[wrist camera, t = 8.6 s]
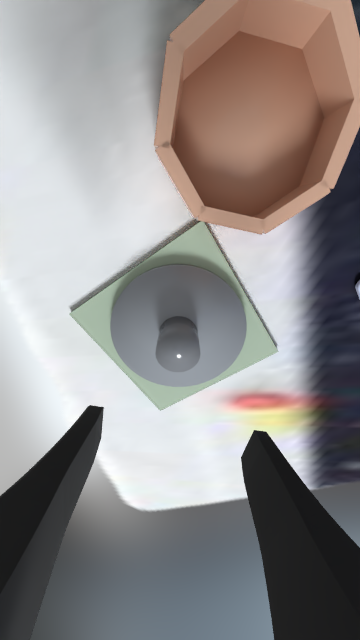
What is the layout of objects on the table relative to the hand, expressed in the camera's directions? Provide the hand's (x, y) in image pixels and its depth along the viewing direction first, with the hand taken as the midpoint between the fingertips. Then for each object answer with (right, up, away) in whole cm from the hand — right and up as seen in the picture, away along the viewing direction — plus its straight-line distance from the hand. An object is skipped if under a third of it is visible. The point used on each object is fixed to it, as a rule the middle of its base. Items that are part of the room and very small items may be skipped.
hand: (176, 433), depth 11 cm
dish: (+4, +17, +4) cm, 18 cm away
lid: (0, +5, +9) cm, 10 cm away
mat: (0, +4, +9) cm, 10 cm away
